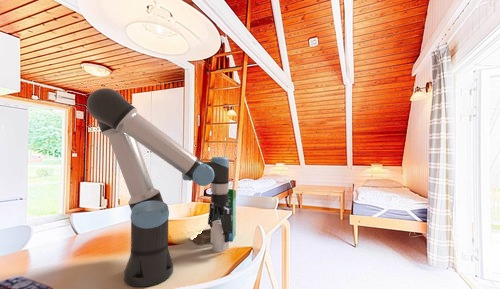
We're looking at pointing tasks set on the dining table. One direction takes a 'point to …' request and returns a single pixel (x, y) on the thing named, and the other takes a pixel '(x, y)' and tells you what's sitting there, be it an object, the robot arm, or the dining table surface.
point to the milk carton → (232, 212)
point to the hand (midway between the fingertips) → (219, 245)
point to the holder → (203, 237)
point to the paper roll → (217, 236)
